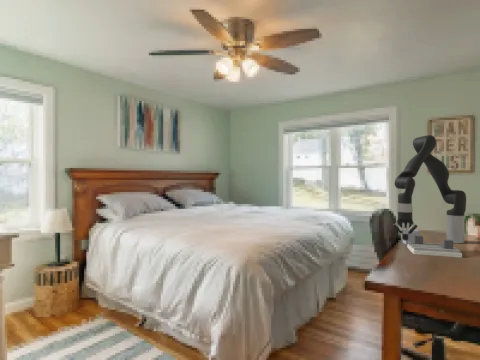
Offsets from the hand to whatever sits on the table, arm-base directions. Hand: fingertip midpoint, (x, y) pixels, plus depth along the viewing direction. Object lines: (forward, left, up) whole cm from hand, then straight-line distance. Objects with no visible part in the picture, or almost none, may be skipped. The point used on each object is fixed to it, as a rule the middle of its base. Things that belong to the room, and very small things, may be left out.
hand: (405, 240), depth 169 cm
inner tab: (0, +7, -3) cm, 7 cm away
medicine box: (-15, +6, -5) cm, 17 cm away
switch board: (+4, +13, -5) cm, 14 cm away
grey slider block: (+8, +19, -3) cm, 21 cm away
